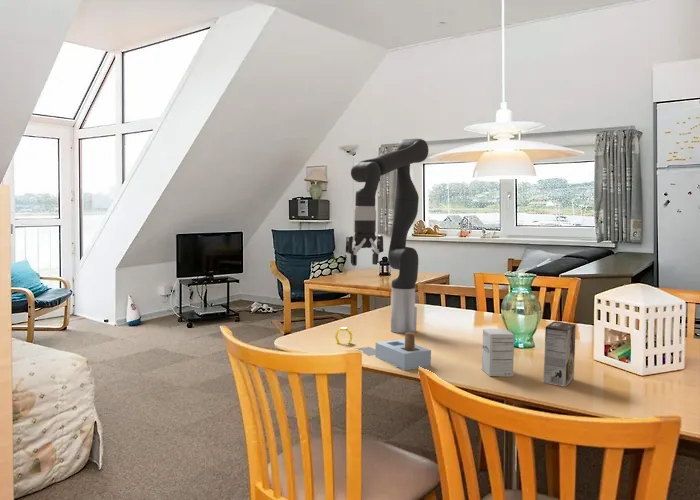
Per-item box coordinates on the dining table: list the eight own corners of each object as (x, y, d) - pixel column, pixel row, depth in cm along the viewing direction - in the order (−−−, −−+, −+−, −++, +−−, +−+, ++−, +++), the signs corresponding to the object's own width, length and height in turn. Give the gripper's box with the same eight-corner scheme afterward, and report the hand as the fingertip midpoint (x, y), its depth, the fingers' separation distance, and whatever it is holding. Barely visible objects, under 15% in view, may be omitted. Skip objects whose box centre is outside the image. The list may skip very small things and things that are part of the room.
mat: (369, 347, 197) (369, 346, 197) (384, 354, 189) (384, 353, 189) (354, 349, 194) (354, 348, 194) (369, 356, 186) (369, 355, 186)
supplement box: (480, 369, 172) (482, 328, 171) (504, 369, 173) (506, 328, 172) (488, 377, 165) (490, 333, 164) (513, 376, 166) (515, 333, 165)
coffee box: (551, 375, 167) (553, 320, 166) (574, 379, 164) (576, 323, 163) (542, 382, 160) (544, 326, 159) (566, 387, 156) (568, 329, 155)
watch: (334, 345, 202) (333, 328, 202) (337, 343, 205) (336, 327, 204) (350, 345, 200) (349, 328, 200) (353, 343, 203) (352, 327, 202)
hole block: (400, 354, 189) (401, 339, 189) (430, 366, 175) (431, 350, 175) (375, 357, 184) (375, 342, 184) (404, 370, 171) (404, 353, 170)
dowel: (410, 363, 178) (411, 331, 178) (416, 365, 176) (416, 333, 175) (402, 364, 177) (403, 332, 176) (408, 366, 174) (408, 334, 174)
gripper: (376, 218, 208) (375, 263, 209) (342, 218, 201) (341, 264, 202) (387, 219, 201) (387, 265, 202) (353, 219, 194) (352, 266, 195)
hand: (364, 264), depth 202 cm, fingers open, 8 cm apart
